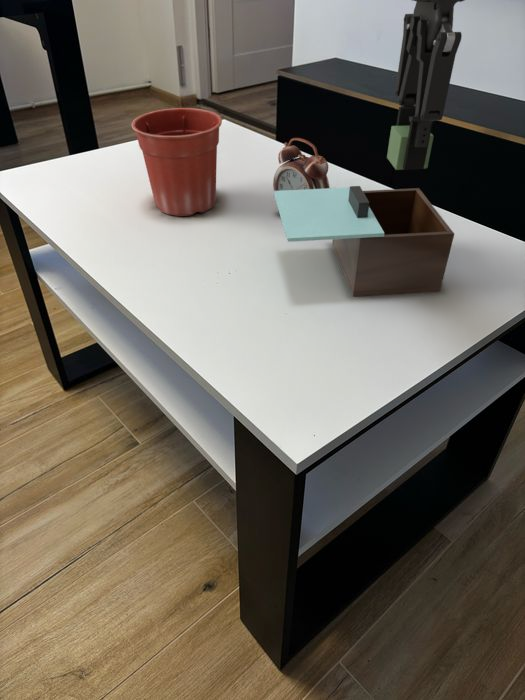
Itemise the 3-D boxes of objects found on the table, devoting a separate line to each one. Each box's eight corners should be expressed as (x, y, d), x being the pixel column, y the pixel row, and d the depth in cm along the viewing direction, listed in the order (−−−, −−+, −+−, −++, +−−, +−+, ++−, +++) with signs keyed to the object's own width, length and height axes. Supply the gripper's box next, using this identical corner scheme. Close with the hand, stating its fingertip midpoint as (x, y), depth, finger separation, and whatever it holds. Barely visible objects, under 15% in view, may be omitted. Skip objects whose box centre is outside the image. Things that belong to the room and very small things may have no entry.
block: (427, 168, 75) (433, 135, 72) (395, 170, 75) (401, 137, 72) (416, 156, 78) (422, 124, 76) (386, 157, 78) (391, 125, 75)
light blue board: (384, 236, 78) (387, 217, 76) (287, 242, 76) (288, 222, 74) (357, 190, 90) (359, 172, 88) (273, 194, 89) (274, 176, 87)
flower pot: (133, 196, 112) (119, 115, 101) (206, 180, 118) (200, 102, 107) (161, 229, 101) (149, 142, 90) (240, 210, 107) (237, 126, 96)
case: (440, 291, 85) (454, 233, 78) (352, 296, 84) (360, 238, 77) (408, 241, 97) (419, 188, 91) (332, 245, 96) (336, 191, 89)
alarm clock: (271, 213, 106) (271, 135, 96) (288, 205, 108) (290, 128, 99) (313, 232, 100) (318, 150, 90) (329, 223, 102) (336, 143, 93)
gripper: (509, -35, 55) (456, 185, 70) (446, -49, 68) (413, 138, 83) (438, -34, 54) (400, 188, 69) (388, -49, 68) (365, 140, 83)
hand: (407, 160), depth 76 cm, fingers closed on block, 4 cm apart
